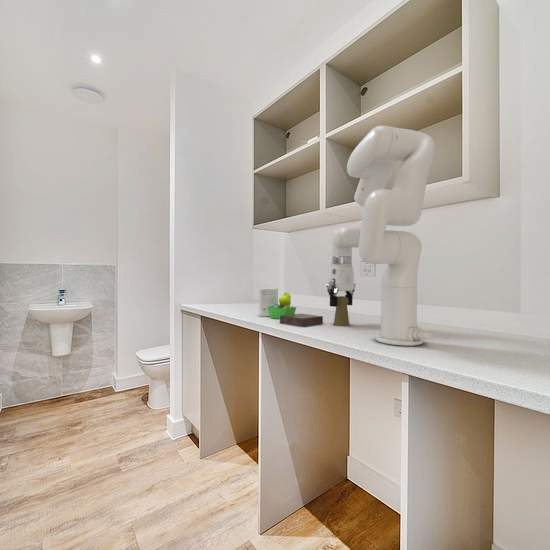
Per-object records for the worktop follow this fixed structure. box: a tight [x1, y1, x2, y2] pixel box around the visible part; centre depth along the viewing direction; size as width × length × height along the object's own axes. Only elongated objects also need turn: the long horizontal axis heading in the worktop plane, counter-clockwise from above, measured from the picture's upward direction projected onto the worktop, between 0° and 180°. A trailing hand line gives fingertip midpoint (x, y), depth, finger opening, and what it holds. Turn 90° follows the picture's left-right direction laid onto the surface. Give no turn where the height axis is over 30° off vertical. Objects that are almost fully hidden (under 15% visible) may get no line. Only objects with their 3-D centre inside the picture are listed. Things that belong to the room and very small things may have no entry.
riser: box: [279, 313, 324, 328], centre depth 123 cm, size 12×12×3 cm
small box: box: [259, 287, 279, 317], centre depth 147 cm, size 8×6×13 cm
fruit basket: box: [268, 292, 297, 320], centre depth 138 cm, size 11×9×11 cm
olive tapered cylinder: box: [333, 295, 350, 327], centre depth 121 cm, size 6×6×11 cm
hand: (341, 305), depth 121 cm, fingers open, 9 cm apart
